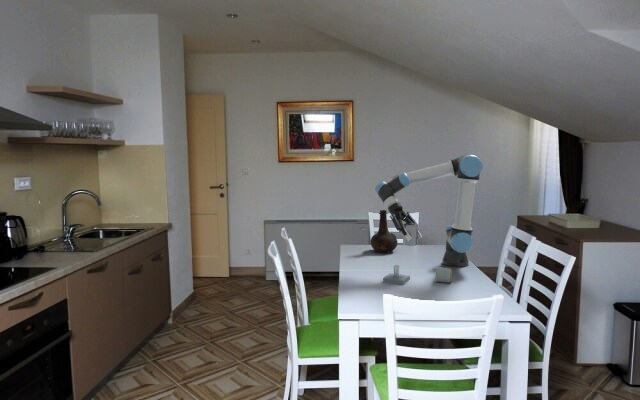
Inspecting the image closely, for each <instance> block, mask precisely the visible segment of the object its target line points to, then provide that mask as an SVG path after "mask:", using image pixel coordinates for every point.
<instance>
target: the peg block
mask: <svg viewBox="0 0 640 400" xmlns="http://www.w3.org/2000/svg"><path fill="white" fill-rule="evenodd" d="M410 280H411V275H407V274H400V265H398V264H394V266H393V273H388V274H387V275H385V276H384V277H383V278H382V283H387V284H394V285H402V286H404V285H406V283H408V282H409V281H410Z"/></svg>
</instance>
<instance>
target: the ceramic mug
mask: <svg viewBox="0 0 640 400" xmlns="http://www.w3.org/2000/svg"><path fill="white" fill-rule="evenodd" d="M452 276H453V269H451V268H449V267H441V266H436V267H435V277H434V278H435V279H434V280H435V282H436V283H445V284H446V283H451V282H452V280H453V279H452V278H453V277H452Z"/></svg>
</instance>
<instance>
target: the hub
mask: <svg viewBox="0 0 640 400" xmlns="http://www.w3.org/2000/svg"><path fill="white" fill-rule="evenodd" d="M403 226H404V229H405V228H406V230H407V232H408V233H409V235H410V236H411V238H412V239H411V240H410V241H407V239H406V237H405V236H404V235H403V234H402V245H403V246H407V247H409V246H410V247H415V246H417V245H418V244H419V243H418V241H419V239H418V230H419V224H418V223H417V224H414V223H406V222H404V223H403Z"/></svg>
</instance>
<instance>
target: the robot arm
mask: <svg viewBox="0 0 640 400" xmlns="http://www.w3.org/2000/svg"><path fill="white" fill-rule="evenodd" d="M482 171H483V162H482V160H481V159H480V158H479V156H476V155H474V154H464V155H461V156H459V157H456V158H454V159H449V160H448V161H447V162H445V163H440V164H436V165H432V166H428V167H424V168H420V169H417V170H413V171H408V172H402V173H400V174H395V175H394V176H392V179H391V180H390V181H388V182H386V181H381V182H379V183H377V185H376V186H375V187H374V188H375V189H374V190H375V192H376V193H377V195H378V197H379V198H380V201H382V203H383V204H384V206H385V207H386V209H387V210H388V213H389V214H390V216H389V218H390V219H391V221H392V223H393V225H394V227H395V229H396V230H397V231H398V232H399V233H401V234H402V236H403V235H404V236H405V237H406V239H407V241H410V240H411V239H412V238H411V236H410V235H409V233H408V232H407V230H406V228H405V229H404V226H403V224H404V223H414V224H418V223H417V221H416V220H415V219H414V218H413V216H412V215H411V214H410V212H409V211H404V210H403V209H404V208H403V206H402V203H400V201H399V200H398V199H397V197H396V195H395V194H397V193H399V192H400V191H402V190H404V189H405V188H406V187H408V186H411V185H412V186H413V185H416V184H420V183H424V182H428V181H432V180H436V179H440V178H446V177H448V176H452V177H455V176H457V178H456V179H457V180H458V181H459V183H458V191H457V199H456V200H457V201H456V209H455V217H454V218H455V219H454V223H453V224H452V225H447V226H445V251H444V254H443V257H442V262H441V263H442V265H445V266H449V267H456V268H457V267H467V266H469V265H470V260H469V257H468V253H467V252H469V251H470V250H471V249H472V247H473V245H474V240H473V230H474V229H473V228H472V226H471V223H472V215H473V210H474V209H473V207H474V199H475V191H476V184H477V183H478V182H479V181H480V176H481V173H482ZM403 222H404V223H403ZM421 238H423V235H422V234H421V232H420V230H419V229H418V240H420V239H421Z"/></svg>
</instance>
